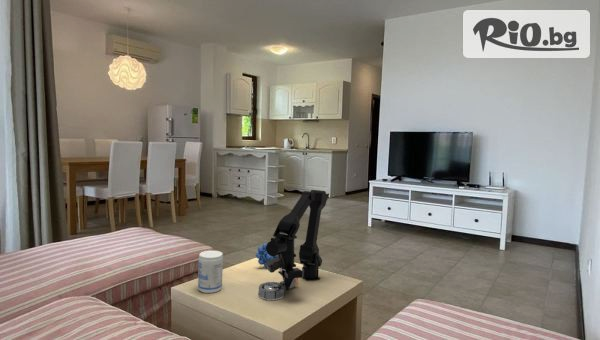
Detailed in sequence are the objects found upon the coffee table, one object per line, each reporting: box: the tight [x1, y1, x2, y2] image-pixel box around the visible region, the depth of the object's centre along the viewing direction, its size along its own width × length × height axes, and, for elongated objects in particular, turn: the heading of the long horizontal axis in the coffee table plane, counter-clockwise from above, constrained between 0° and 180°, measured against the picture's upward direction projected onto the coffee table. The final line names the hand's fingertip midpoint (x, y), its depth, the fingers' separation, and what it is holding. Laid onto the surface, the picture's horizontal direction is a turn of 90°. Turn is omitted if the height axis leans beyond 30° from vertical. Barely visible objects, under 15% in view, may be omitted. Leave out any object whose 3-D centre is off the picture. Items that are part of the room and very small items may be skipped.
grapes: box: [255, 242, 278, 268], centre depth 177 cm, size 12×7×12 cm, turn 114°
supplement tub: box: [197, 250, 224, 294], centre depth 151 cm, size 10×10×15 cm
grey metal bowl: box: [258, 283, 285, 302], centre depth 147 cm, size 10×10×4 cm
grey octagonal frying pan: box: [258, 278, 299, 299], centre depth 150 cm, size 18×10×3 cm, turn 133°
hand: (287, 290), depth 150 cm, fingers closed, pressing on grey octagonal frying pan
